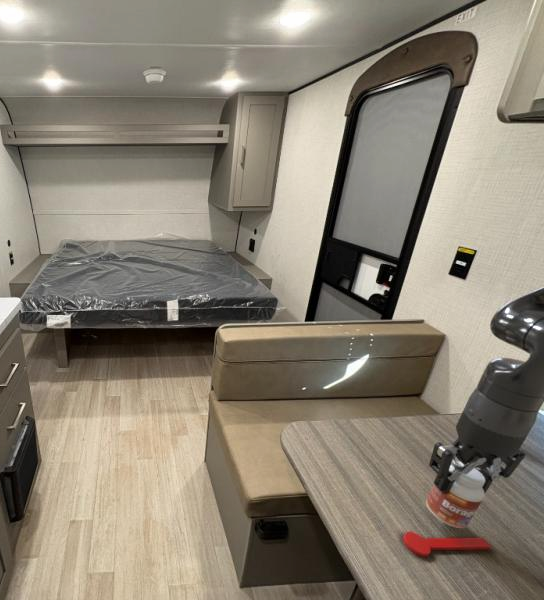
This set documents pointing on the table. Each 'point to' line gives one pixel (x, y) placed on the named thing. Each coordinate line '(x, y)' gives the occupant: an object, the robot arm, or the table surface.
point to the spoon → (442, 544)
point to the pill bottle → (458, 499)
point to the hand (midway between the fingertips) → (458, 489)
